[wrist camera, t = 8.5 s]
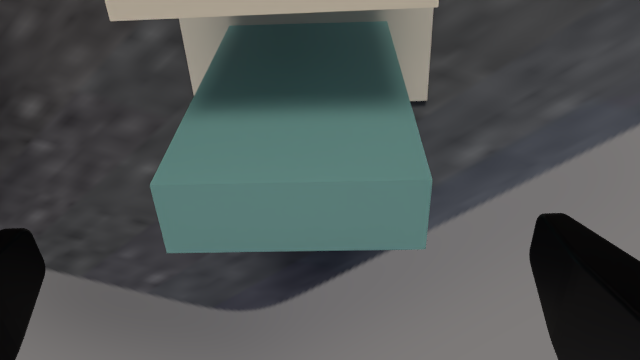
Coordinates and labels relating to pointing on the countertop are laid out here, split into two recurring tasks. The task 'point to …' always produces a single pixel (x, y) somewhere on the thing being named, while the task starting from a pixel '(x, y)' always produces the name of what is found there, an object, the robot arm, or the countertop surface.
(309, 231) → the end domino
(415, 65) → the pad
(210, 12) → the domino
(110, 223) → the countertop surface
